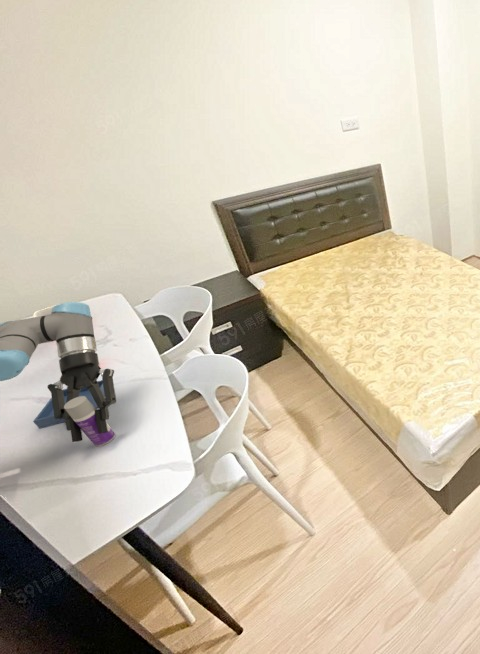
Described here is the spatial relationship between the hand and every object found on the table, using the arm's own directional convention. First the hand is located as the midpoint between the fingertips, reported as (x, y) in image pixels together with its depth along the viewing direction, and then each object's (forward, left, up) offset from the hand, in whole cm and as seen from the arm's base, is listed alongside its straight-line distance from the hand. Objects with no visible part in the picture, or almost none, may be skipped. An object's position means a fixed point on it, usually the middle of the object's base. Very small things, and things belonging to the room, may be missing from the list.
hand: (90, 436), depth 108 cm
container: (0, +4, -5) cm, 7 cm away
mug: (-38, +75, -5) cm, 84 cm away
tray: (-14, +24, -5) cm, 28 cm away
